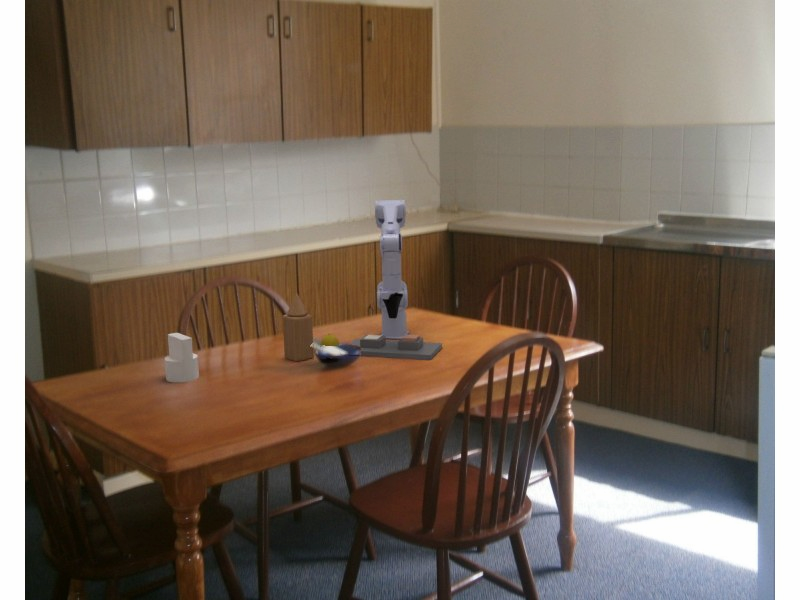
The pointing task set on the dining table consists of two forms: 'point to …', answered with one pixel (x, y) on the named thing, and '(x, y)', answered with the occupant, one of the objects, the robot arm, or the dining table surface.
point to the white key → (373, 337)
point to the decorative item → (297, 332)
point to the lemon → (330, 340)
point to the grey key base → (397, 348)
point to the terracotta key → (410, 338)
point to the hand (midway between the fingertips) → (392, 317)
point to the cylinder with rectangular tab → (181, 359)
